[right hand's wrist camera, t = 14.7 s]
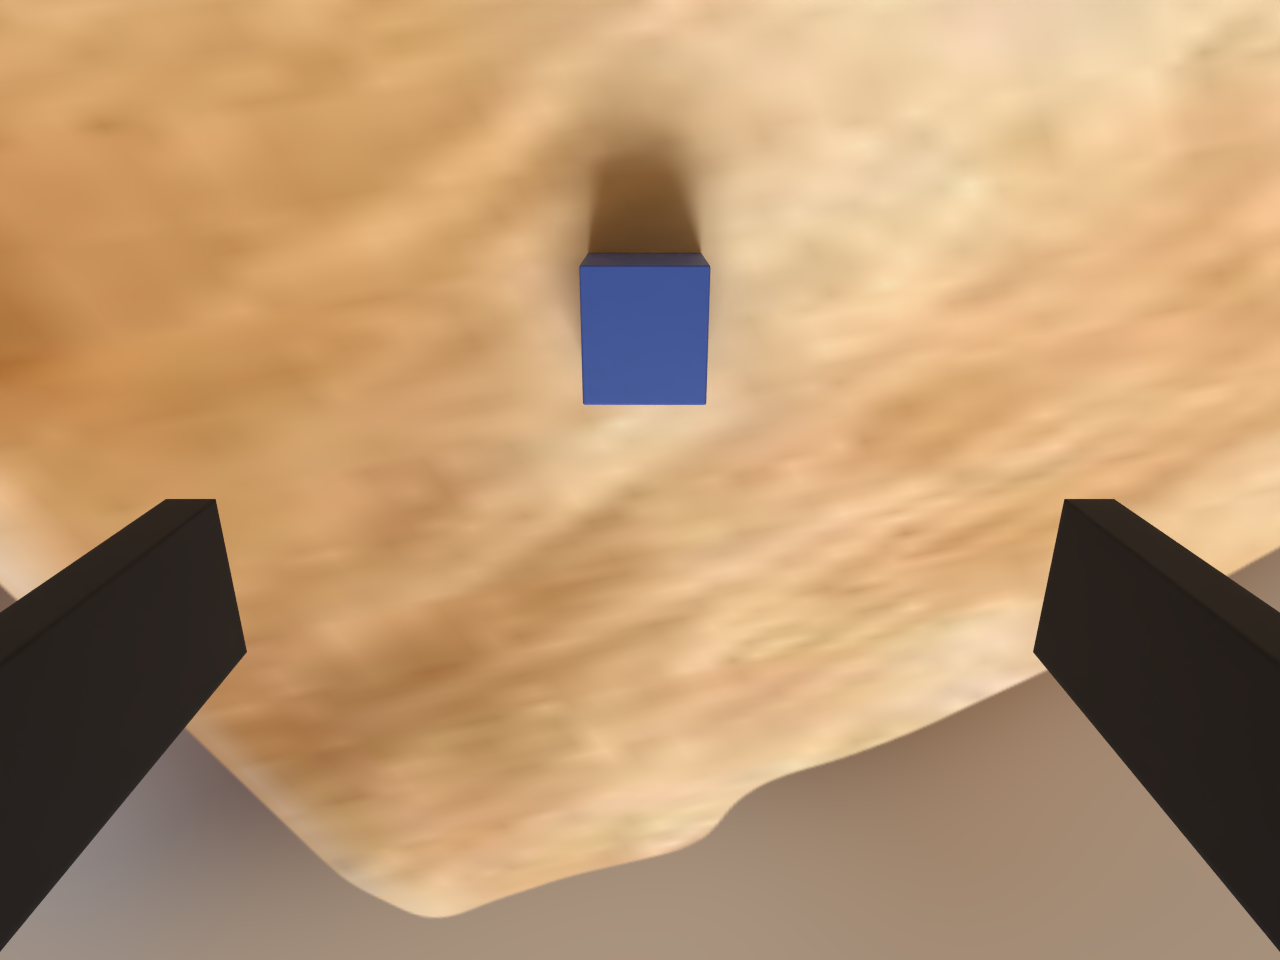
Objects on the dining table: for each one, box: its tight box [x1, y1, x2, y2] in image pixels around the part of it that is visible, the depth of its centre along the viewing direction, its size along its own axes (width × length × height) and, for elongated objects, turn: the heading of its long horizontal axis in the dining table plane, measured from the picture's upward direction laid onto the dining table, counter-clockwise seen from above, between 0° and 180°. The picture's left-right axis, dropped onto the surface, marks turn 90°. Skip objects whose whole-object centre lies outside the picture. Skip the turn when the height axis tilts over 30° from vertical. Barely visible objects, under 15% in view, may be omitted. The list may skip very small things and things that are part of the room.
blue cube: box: [579, 253, 710, 405], centre depth 31 cm, size 5×5×5 cm
